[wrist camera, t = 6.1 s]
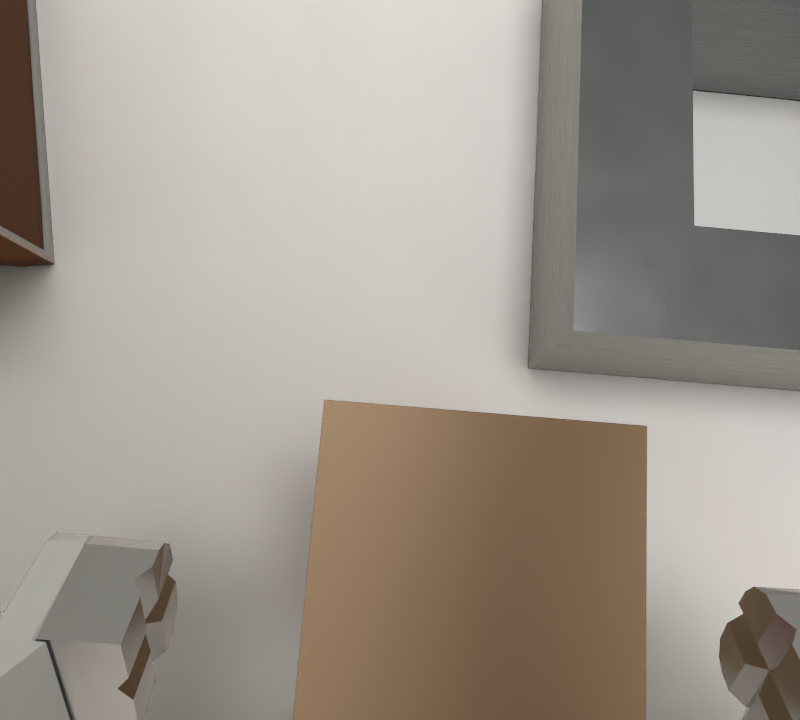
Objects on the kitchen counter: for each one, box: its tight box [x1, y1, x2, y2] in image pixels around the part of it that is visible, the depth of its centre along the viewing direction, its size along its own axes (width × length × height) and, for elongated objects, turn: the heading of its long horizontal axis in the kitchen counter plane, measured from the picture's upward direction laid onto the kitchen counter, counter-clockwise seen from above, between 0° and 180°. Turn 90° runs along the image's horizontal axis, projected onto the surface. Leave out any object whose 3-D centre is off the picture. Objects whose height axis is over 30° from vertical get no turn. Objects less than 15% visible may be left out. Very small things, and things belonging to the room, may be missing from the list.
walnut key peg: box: [293, 400, 647, 720], centre depth 13 cm, size 4×4×9 cm
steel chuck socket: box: [528, 0, 800, 391], centre depth 17 cm, size 11×11×4 cm
